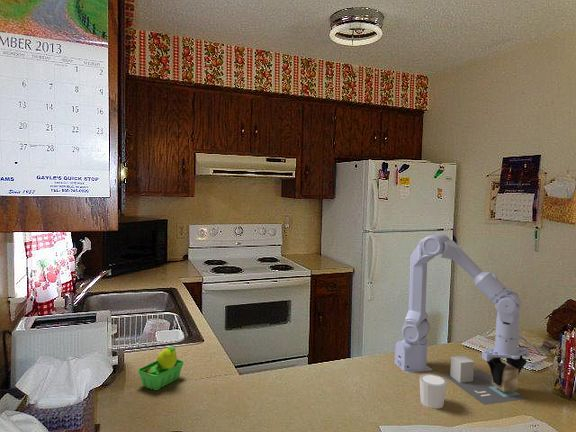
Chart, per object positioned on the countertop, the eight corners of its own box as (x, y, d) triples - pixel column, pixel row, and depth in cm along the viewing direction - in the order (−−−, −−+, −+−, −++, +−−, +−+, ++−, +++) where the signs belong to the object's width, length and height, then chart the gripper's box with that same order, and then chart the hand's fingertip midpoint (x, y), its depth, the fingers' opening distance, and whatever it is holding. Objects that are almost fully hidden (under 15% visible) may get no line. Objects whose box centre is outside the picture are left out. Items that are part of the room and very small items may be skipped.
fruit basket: (166, 371, 121) (166, 335, 121) (188, 378, 117) (188, 341, 116) (136, 387, 111) (136, 348, 111) (159, 395, 107) (158, 355, 106)
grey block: (460, 382, 116) (461, 363, 116) (450, 375, 120) (451, 356, 120) (473, 381, 117) (473, 361, 117) (462, 374, 121) (463, 355, 121)
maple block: (503, 391, 109) (505, 370, 108) (491, 384, 113) (492, 363, 113) (517, 390, 110) (518, 369, 110) (504, 382, 114) (505, 362, 114)
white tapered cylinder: (445, 400, 107) (446, 375, 106) (446, 414, 100) (447, 387, 100) (418, 396, 109) (419, 371, 109) (418, 409, 103) (419, 383, 102)
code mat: (484, 406, 104) (484, 404, 104) (441, 375, 122) (441, 373, 122) (527, 400, 108) (527, 398, 108) (479, 371, 125) (479, 369, 125)
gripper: (496, 343, 105) (493, 392, 106) (540, 338, 109) (537, 386, 110) (477, 333, 112) (475, 380, 113) (519, 330, 115) (516, 375, 116)
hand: (504, 382), depth 112 cm, fingers closed on maple block, 4 cm apart
